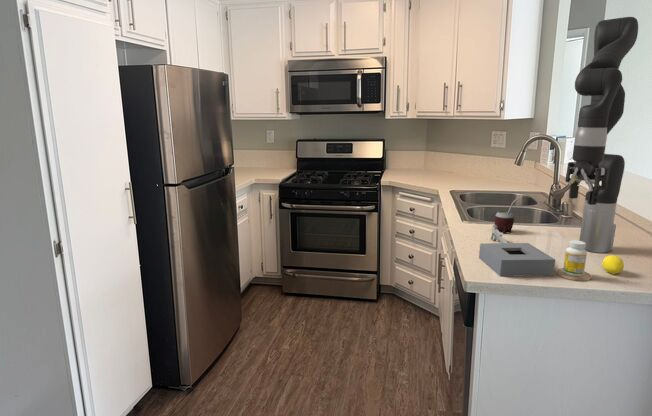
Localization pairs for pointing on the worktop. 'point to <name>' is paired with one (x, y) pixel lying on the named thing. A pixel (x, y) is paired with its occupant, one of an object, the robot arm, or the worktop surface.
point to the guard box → (516, 259)
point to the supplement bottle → (575, 258)
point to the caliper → (497, 235)
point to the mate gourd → (505, 220)
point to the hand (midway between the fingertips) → (582, 201)
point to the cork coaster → (575, 278)
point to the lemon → (613, 264)
